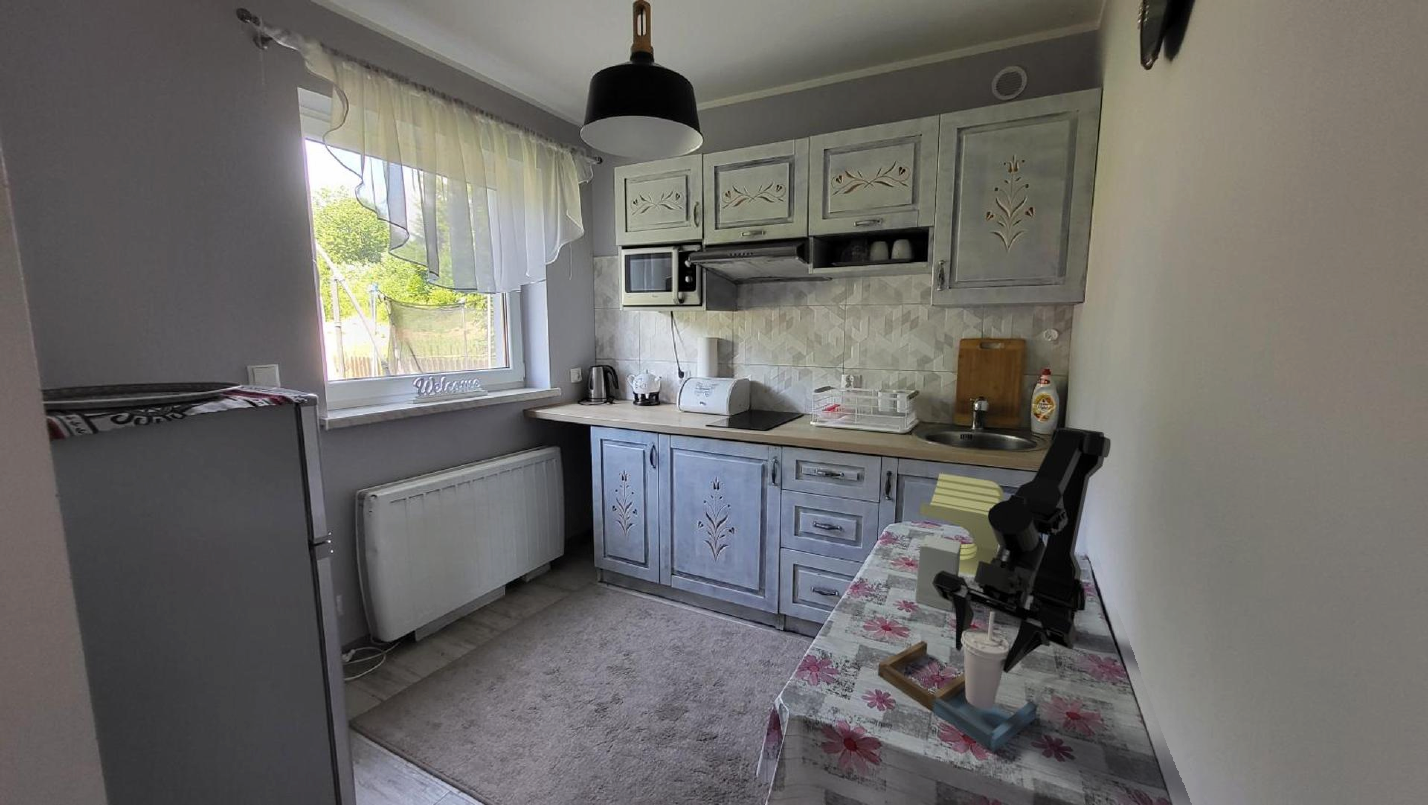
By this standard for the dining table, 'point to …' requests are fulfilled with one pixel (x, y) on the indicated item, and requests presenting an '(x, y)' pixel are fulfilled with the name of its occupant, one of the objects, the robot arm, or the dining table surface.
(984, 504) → the slatted curved stool
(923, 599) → the supplement box
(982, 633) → the smoothie
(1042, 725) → the dining table surface
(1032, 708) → the blue and brown frame
